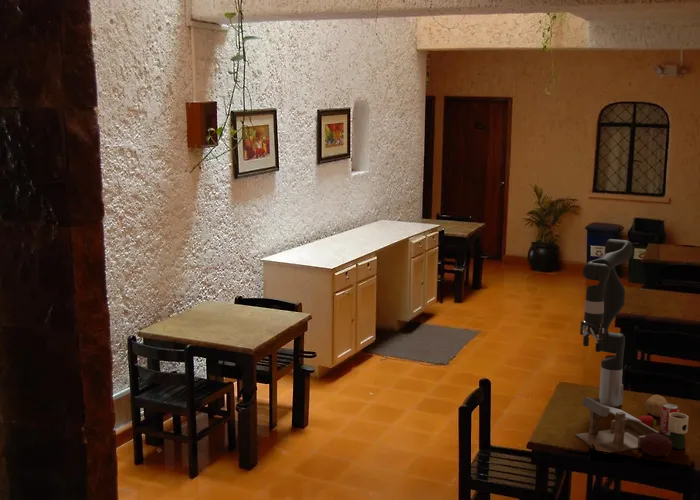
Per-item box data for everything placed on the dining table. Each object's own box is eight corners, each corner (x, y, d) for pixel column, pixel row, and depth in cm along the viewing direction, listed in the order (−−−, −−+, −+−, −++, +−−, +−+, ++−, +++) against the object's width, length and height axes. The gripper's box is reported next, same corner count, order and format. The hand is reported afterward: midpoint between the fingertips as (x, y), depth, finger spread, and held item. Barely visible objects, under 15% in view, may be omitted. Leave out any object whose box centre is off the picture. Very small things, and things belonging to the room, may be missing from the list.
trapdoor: (619, 414, 310) (622, 406, 309) (640, 426, 297) (643, 418, 297) (580, 404, 303) (583, 396, 303) (600, 415, 291) (603, 407, 291)
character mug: (682, 454, 291) (684, 421, 289) (662, 449, 295) (665, 417, 293) (689, 444, 299) (692, 413, 297) (670, 440, 304) (673, 409, 302)
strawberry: (636, 423, 321) (661, 428, 315) (631, 429, 315) (657, 435, 309) (637, 410, 319) (662, 415, 314) (632, 416, 313) (657, 422, 308)
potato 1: (643, 419, 326) (644, 401, 324) (645, 408, 338) (646, 391, 337) (668, 423, 322) (669, 405, 320) (669, 411, 334) (670, 394, 333)
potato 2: (669, 451, 294) (671, 430, 292) (673, 463, 283) (675, 442, 282) (638, 447, 297) (639, 427, 295) (641, 459, 286) (642, 438, 285)
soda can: (655, 431, 312) (657, 404, 310) (668, 429, 315) (670, 401, 313) (668, 438, 306) (670, 410, 304) (681, 435, 308) (683, 407, 307)
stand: (629, 428, 315) (631, 393, 313) (658, 445, 298) (661, 409, 296) (575, 435, 308) (577, 400, 305) (602, 453, 291) (604, 416, 288)
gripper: (612, 314, 306) (610, 352, 309) (591, 306, 320) (589, 343, 322) (596, 315, 304) (594, 354, 307) (576, 307, 318) (574, 344, 320)
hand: (591, 348), depth 315 cm, fingers open, 8 cm apart
